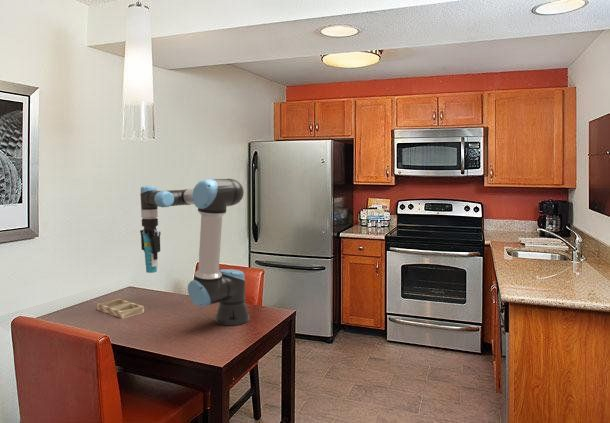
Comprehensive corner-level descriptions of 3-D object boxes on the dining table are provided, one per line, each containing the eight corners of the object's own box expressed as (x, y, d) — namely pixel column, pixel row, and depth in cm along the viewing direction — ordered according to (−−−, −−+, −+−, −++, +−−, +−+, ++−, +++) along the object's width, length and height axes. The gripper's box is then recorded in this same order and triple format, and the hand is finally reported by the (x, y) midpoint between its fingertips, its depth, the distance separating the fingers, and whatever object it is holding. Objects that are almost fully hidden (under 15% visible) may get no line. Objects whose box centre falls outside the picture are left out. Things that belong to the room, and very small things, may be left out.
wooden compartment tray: (144, 312, 224) (144, 306, 224) (122, 318, 215) (121, 312, 215) (119, 304, 237) (118, 298, 237) (97, 309, 228) (97, 303, 228)
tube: (146, 274, 224) (145, 234, 222) (142, 272, 227) (140, 233, 226) (161, 271, 229) (159, 232, 227) (156, 270, 233) (155, 231, 231)
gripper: (167, 218, 223) (168, 266, 226) (145, 216, 234) (147, 262, 236) (153, 219, 217) (155, 269, 220) (132, 217, 228) (134, 264, 230)
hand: (151, 265), depth 228 cm, fingers closed on tube, 5 cm apart
